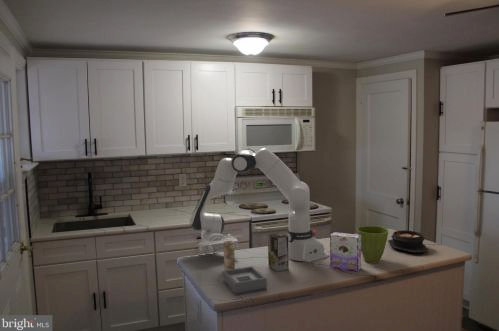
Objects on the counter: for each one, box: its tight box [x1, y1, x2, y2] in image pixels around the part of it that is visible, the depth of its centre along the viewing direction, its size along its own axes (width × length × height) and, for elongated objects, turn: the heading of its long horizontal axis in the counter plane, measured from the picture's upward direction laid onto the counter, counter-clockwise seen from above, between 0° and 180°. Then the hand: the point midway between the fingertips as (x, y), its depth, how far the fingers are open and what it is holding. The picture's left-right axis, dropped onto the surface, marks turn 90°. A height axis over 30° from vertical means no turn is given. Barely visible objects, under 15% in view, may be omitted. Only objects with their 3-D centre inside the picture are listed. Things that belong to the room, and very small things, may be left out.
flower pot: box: [356, 225, 389, 264], centre depth 206 cm, size 15×15×16 cm
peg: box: [223, 241, 236, 271], centre depth 196 cm, size 4×4×14 cm
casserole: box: [387, 230, 430, 254], centre depth 224 cm, size 25×19×8 cm
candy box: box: [329, 231, 362, 272], centre depth 196 cm, size 14×6×16 cm, turn 59°
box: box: [222, 266, 268, 296], centre depth 178 cm, size 14×16×5 cm
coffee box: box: [267, 232, 290, 272], centre depth 199 cm, size 9×6×16 cm
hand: (223, 248), depth 205 cm, fingers open, 8 cm apart
